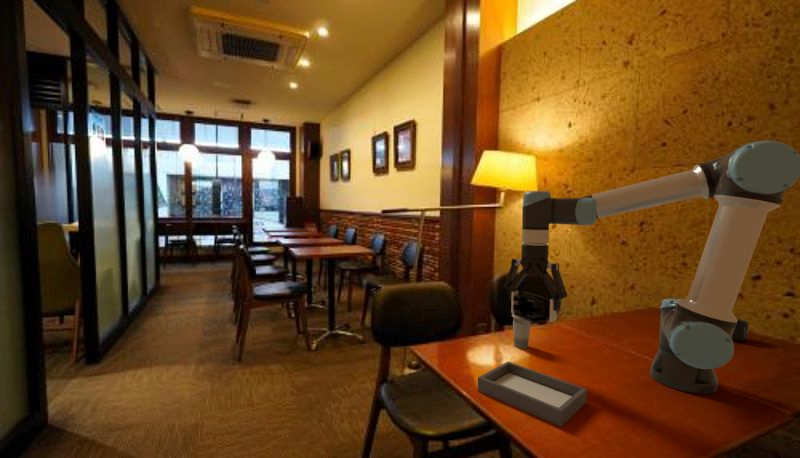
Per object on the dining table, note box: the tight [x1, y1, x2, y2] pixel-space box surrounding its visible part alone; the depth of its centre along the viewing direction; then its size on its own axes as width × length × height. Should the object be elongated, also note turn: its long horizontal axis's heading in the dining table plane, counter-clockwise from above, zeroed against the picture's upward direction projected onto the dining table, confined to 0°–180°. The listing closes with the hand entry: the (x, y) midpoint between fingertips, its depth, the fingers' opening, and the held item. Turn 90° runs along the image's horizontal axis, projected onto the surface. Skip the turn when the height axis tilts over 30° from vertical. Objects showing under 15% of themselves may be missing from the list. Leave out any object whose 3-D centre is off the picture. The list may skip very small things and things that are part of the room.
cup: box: [511, 313, 532, 350], centre depth 130 cm, size 7×7×12 cm
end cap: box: [513, 291, 551, 324], centre depth 111 cm, size 10×7×7 cm
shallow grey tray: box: [477, 361, 588, 428], centre depth 95 cm, size 22×15×4 cm
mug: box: [731, 318, 750, 342], centre depth 140 cm, size 12×9×7 cm
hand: (532, 316), depth 111 cm, fingers closed on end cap, 11 cm apart
